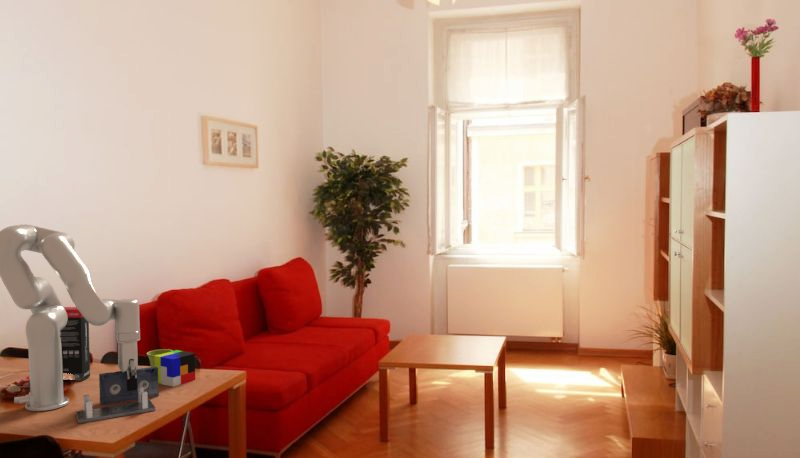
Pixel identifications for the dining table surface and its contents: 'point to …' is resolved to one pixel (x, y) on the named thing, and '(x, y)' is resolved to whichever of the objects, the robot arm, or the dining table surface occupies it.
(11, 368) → the dining table surface
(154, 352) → the plant pot
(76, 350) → the graphics card box
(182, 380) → the puzzle toy
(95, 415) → the rack
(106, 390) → the vhs cassette tape
